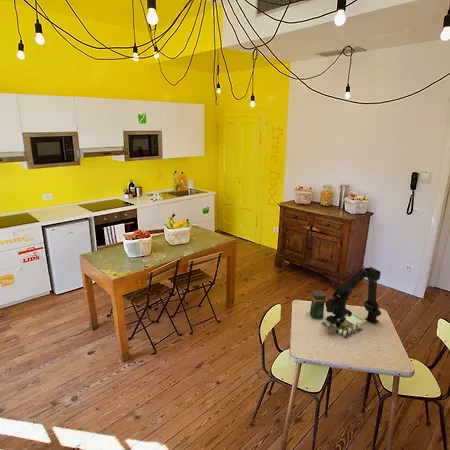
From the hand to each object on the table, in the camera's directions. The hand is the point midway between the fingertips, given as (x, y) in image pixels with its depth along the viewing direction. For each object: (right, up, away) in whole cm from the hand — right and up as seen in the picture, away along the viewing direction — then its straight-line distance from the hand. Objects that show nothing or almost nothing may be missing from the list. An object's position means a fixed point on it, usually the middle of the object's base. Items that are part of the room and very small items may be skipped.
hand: (337, 327), depth 219 cm
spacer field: (+4, -1, +3) cm, 5 cm away
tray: (+15, +1, +10) cm, 18 cm away
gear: (+5, 0, +3) cm, 6 cm away
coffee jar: (-10, +3, +15) cm, 18 cm away
